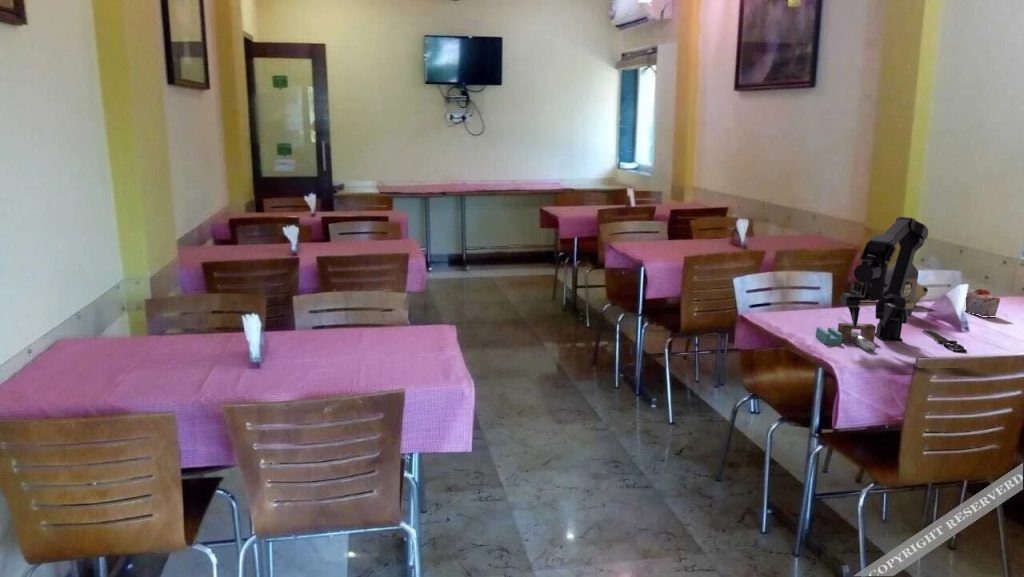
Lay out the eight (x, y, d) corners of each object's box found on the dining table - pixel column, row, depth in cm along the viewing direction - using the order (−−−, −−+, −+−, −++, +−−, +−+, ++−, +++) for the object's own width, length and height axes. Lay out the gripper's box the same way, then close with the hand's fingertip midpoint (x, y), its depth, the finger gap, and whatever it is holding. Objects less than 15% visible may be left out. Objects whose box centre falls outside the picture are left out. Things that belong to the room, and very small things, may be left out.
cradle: (831, 337, 255) (832, 327, 255) (841, 344, 248) (842, 334, 247) (815, 337, 255) (816, 326, 255) (825, 344, 248) (826, 333, 247)
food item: (1000, 318, 288) (1005, 293, 286) (982, 319, 287) (986, 293, 284) (972, 309, 301) (977, 285, 299) (955, 309, 300) (959, 285, 297)
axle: (854, 336, 257) (853, 327, 256) (876, 351, 241) (875, 341, 241) (844, 338, 257) (843, 329, 256) (866, 353, 241) (865, 344, 241)
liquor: (878, 309, 295) (889, 232, 289) (901, 309, 296) (913, 233, 289) (891, 315, 287) (903, 236, 280) (914, 316, 287) (927, 237, 280)
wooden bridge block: (869, 339, 255) (871, 323, 253) (873, 342, 252) (875, 326, 250) (836, 338, 254) (838, 322, 253) (840, 341, 252) (842, 325, 250)
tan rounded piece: (929, 307, 301) (934, 281, 299) (903, 308, 298) (907, 282, 296) (911, 301, 310) (915, 276, 308) (886, 302, 308) (890, 276, 305)
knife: (918, 331, 269) (919, 327, 269) (938, 332, 268) (939, 328, 268) (947, 352, 245) (948, 348, 244) (969, 354, 244) (969, 350, 243)
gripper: (893, 274, 248) (886, 320, 252) (835, 272, 248) (829, 318, 251) (910, 281, 237) (903, 330, 241) (850, 279, 237) (843, 328, 241)
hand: (869, 326), depth 244 cm, fingers open, 9 cm apart
